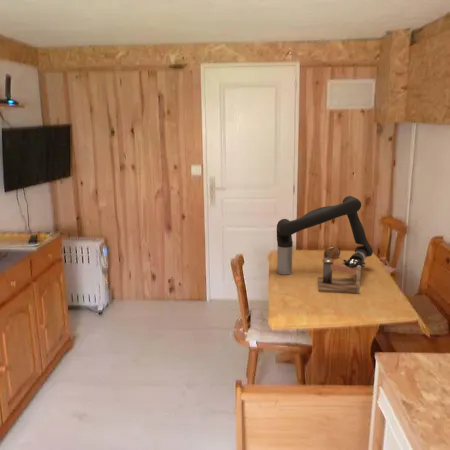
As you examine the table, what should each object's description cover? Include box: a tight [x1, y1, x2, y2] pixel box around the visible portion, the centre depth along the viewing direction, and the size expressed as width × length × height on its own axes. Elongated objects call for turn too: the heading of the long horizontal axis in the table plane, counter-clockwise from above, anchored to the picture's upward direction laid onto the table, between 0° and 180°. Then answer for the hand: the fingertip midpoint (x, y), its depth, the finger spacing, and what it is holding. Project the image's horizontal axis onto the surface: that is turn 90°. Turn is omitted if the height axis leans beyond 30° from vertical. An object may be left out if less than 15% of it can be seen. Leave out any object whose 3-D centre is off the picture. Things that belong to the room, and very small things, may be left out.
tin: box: [323, 245, 341, 261], centre depth 308 cm, size 15×3×8 cm, turn 130°
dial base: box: [317, 265, 362, 295], centre depth 260 cm, size 20×22×16 cm
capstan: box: [322, 257, 357, 283], centre depth 258 cm, size 20×6×13 cm, turn 49°
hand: (350, 267), depth 257 cm, fingers closed
